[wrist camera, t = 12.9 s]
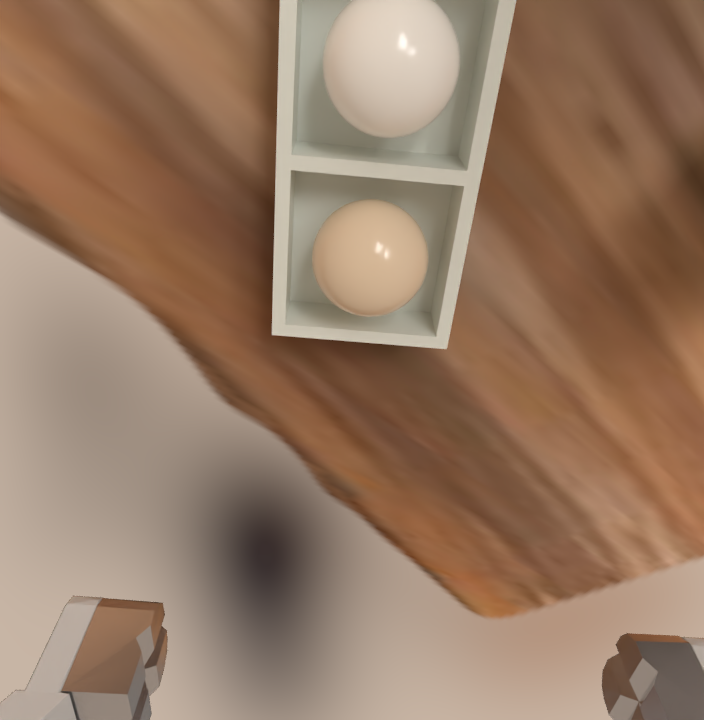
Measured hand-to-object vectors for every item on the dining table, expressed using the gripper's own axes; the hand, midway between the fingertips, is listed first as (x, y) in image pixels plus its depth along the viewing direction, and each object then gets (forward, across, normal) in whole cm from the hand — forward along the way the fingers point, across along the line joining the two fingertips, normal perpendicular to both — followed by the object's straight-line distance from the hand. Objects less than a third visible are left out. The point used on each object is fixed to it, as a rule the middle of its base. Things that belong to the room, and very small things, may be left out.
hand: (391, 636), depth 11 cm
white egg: (+20, 0, -7) cm, 22 cm away
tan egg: (+20, 0, 0) cm, 20 cm away
